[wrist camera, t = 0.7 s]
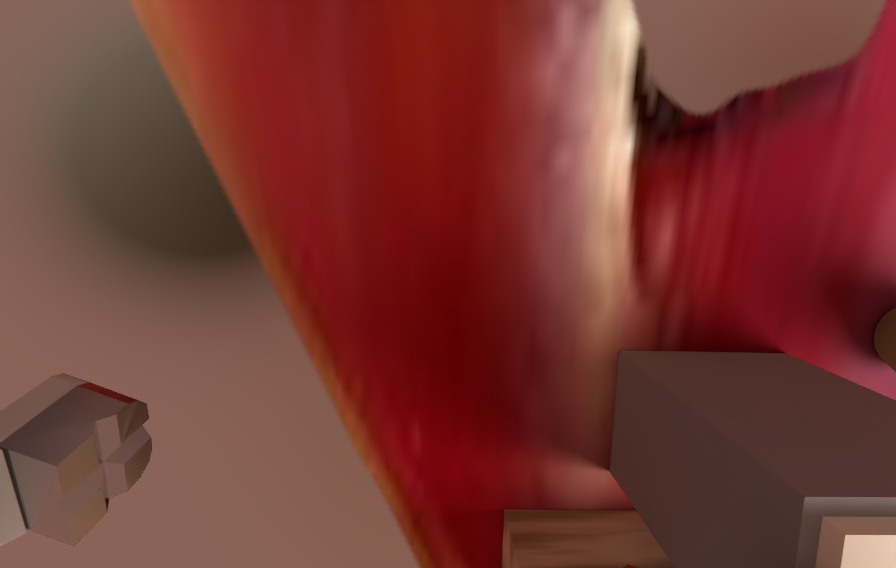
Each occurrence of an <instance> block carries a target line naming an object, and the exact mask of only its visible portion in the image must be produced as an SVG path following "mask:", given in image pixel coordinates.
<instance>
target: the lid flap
mask: <svg viewBox="0 0 896 568" xmlns="http://www.w3.org/2000/svg"><path fill="white" fill-rule="evenodd" d="M815 568H896V517H831V516H822V523H821V530H820V537H819V544H818V552H817V559H816V566H815Z"/></svg>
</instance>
